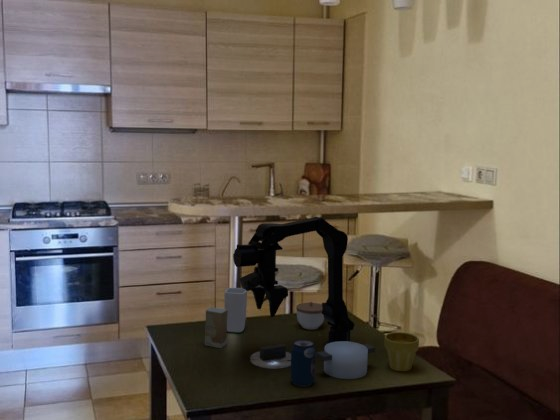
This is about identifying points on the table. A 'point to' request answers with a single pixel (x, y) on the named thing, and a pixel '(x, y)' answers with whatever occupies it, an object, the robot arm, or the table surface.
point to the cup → (236, 309)
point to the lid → (272, 357)
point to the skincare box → (216, 327)
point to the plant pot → (401, 350)
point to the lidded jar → (310, 315)
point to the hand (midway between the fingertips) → (265, 312)
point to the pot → (345, 359)
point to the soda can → (303, 363)
